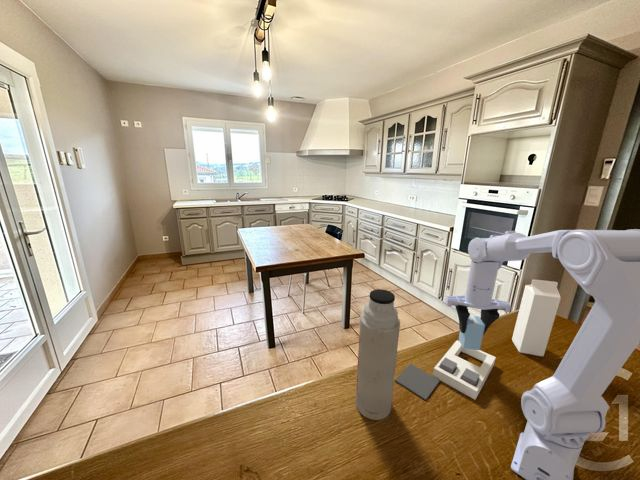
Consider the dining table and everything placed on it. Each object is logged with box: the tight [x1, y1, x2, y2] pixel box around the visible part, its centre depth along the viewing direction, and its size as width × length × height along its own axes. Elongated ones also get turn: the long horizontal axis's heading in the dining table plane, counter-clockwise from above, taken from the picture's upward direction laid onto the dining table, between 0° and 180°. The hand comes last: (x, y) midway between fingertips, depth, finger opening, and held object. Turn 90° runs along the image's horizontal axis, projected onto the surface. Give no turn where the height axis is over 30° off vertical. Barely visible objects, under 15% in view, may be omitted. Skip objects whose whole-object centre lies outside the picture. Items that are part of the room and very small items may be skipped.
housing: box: [432, 339, 497, 401], centre depth 70 cm, size 16×10×2 cm, turn 134°
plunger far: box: [440, 358, 457, 374], centre depth 68 cm, size 3×3×3 cm
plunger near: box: [461, 368, 480, 387], centre depth 64 cm, size 3×3×3 cm
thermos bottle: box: [355, 288, 401, 421], centre depth 56 cm, size 8×8×28 cm
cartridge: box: [458, 314, 485, 350], centre depth 69 cm, size 4×4×8 cm
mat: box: [394, 363, 441, 402], centre depth 67 cm, size 8×8×1 cm
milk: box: [511, 279, 562, 357], centre depth 76 cm, size 6×6×22 cm
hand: (471, 331), depth 69 cm, fingers closed on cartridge, 4 cm apart
